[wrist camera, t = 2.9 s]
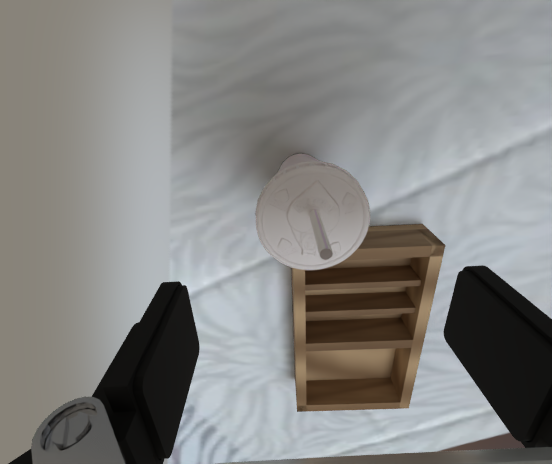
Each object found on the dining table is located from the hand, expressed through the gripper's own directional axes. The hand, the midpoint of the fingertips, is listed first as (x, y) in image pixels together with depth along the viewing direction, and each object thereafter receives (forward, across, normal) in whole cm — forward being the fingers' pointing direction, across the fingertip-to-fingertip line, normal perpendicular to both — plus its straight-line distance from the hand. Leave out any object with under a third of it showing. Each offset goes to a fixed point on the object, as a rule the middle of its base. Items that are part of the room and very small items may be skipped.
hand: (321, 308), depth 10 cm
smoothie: (+17, -1, 0) cm, 17 cm away
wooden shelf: (+16, -6, +15) cm, 23 cm away
